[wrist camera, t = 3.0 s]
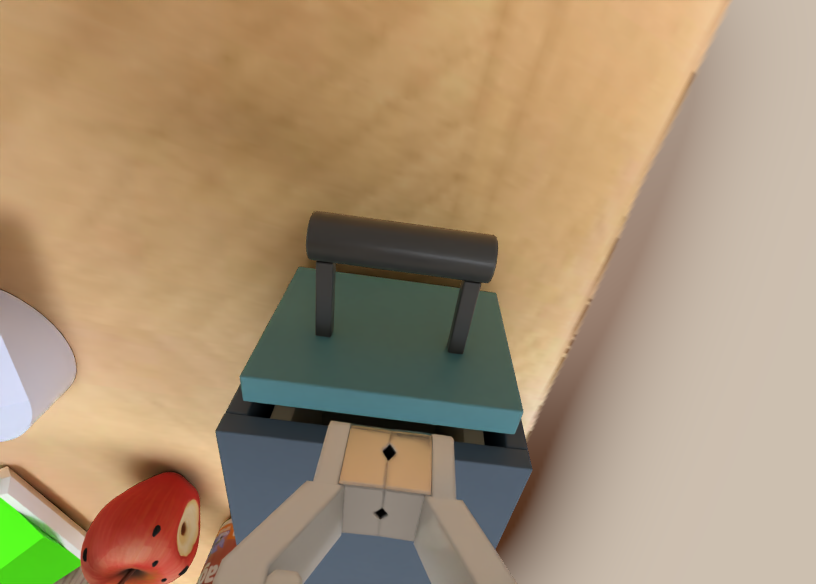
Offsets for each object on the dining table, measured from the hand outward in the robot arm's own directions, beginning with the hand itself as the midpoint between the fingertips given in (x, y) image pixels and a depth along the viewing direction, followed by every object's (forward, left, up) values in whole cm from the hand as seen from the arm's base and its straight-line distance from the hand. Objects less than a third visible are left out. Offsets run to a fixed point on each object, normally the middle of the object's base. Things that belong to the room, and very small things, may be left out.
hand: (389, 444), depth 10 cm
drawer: (+5, -3, -10) cm, 12 cm away
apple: (+13, -23, -11) cm, 29 cm away
